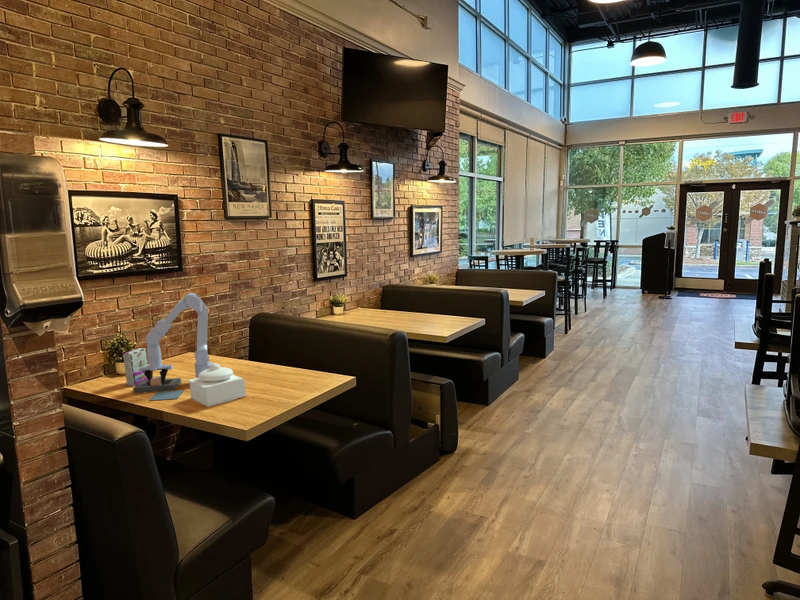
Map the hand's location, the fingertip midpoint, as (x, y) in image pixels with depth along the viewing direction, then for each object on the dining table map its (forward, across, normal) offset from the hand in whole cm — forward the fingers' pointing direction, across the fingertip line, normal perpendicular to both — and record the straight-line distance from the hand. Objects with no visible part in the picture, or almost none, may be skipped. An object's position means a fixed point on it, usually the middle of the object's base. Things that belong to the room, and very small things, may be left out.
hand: (157, 385), depth 254 cm
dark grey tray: (+1, 0, 0) cm, 1 cm away
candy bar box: (+2, -13, +12) cm, 18 cm away
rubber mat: (+1, +8, -14) cm, 16 cm away
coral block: (+1, 0, 0) cm, 1 cm away
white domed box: (+2, +32, -23) cm, 39 cm away
